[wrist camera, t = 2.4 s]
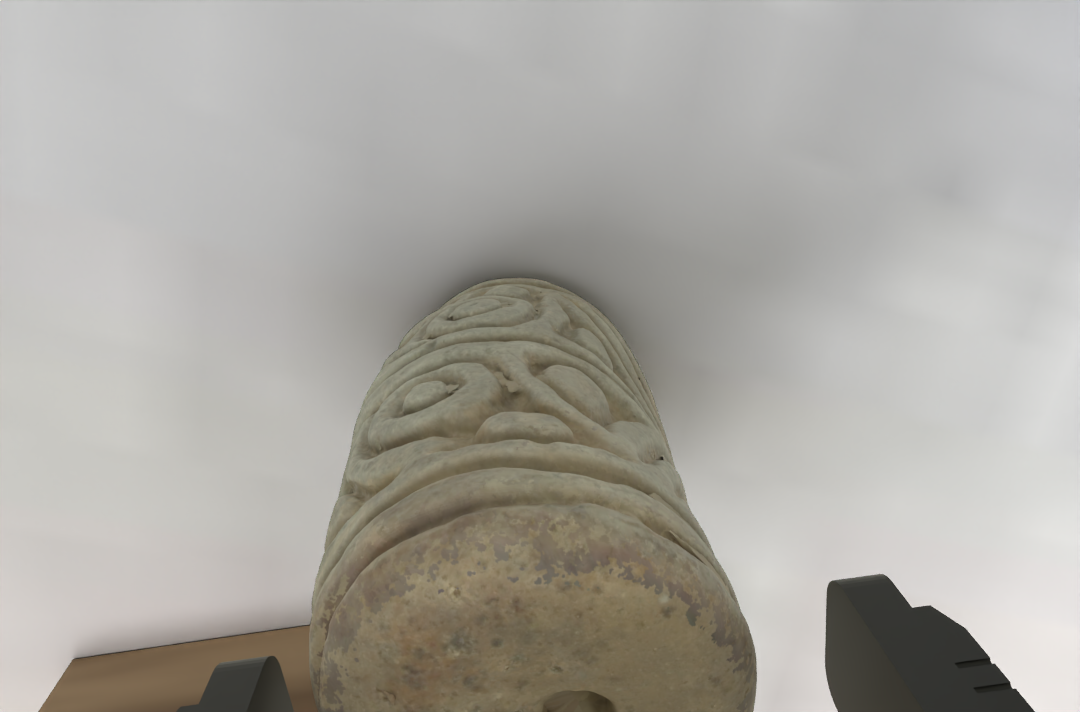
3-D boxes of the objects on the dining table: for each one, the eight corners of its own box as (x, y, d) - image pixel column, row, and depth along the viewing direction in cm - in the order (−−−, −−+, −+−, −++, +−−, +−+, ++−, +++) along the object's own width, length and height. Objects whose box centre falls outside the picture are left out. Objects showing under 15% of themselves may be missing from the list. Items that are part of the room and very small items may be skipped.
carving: (517, 193, 19) (577, 395, 8) (687, 407, 22) (912, 786, 11) (326, 348, 20) (145, 714, 9) (509, 535, 23) (542, 1001, 12)
